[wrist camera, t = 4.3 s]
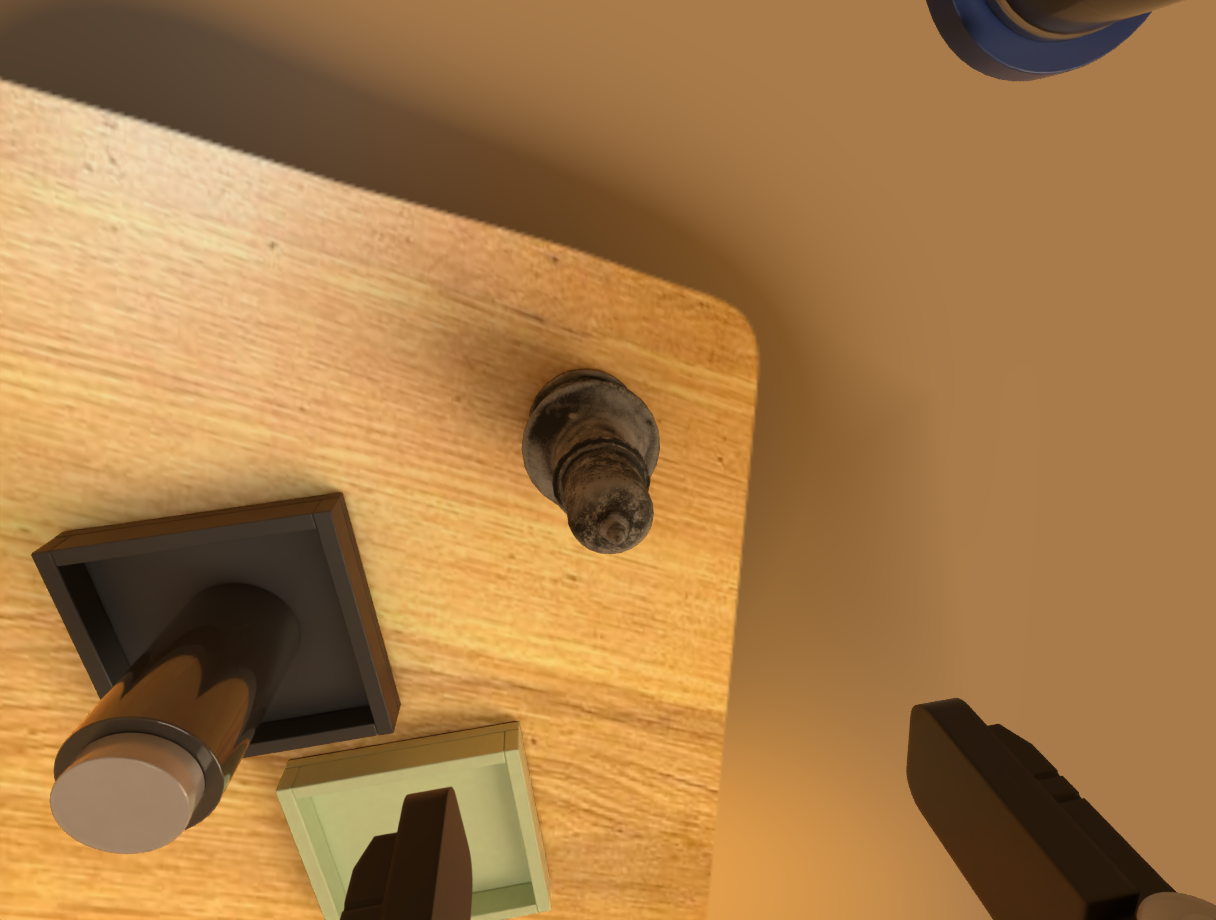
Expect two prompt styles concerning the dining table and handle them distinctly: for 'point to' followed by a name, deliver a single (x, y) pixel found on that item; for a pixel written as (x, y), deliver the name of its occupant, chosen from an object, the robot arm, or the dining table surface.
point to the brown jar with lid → (175, 722)
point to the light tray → (384, 774)
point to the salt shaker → (594, 457)
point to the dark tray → (246, 554)
